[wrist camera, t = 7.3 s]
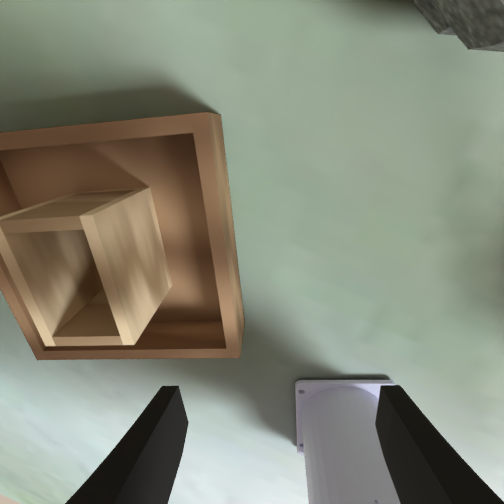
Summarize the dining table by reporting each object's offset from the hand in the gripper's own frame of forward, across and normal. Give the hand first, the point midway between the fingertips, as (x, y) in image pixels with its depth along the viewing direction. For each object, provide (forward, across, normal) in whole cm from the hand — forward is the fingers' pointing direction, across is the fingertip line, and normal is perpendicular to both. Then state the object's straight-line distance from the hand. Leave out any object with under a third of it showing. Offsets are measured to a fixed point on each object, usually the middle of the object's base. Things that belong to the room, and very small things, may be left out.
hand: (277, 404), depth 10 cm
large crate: (+10, +10, -3) cm, 15 cm away
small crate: (+10, +10, -3) cm, 14 cm away
